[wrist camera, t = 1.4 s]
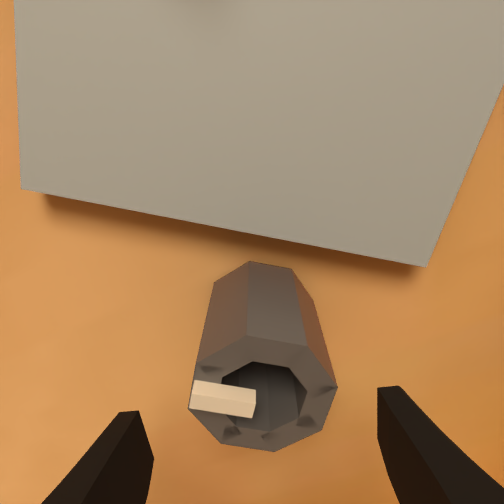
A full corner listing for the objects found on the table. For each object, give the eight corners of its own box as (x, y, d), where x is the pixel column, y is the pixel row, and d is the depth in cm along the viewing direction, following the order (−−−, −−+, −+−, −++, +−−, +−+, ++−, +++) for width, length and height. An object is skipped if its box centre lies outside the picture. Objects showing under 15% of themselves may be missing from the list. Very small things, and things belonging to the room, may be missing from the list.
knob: (321, 274, 16) (355, 366, 11) (296, 357, 18) (313, 473, 13) (219, 255, 16) (199, 339, 11) (203, 341, 18) (179, 453, 12)
